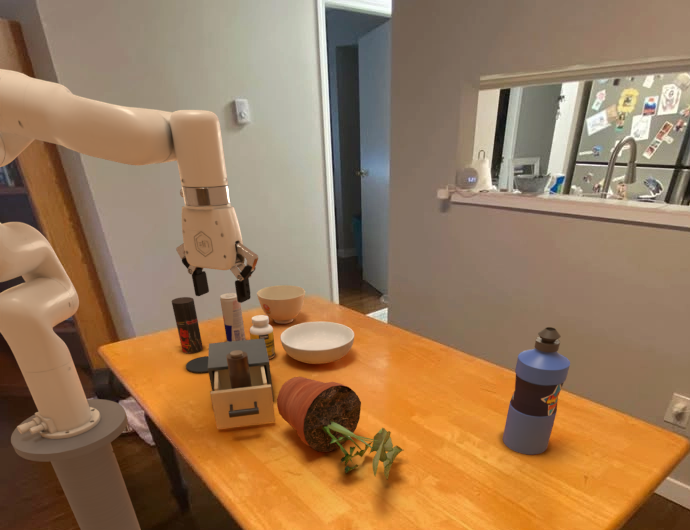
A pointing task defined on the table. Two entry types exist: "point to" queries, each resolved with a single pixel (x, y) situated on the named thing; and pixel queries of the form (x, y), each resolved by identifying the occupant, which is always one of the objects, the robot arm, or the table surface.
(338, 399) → the potted plant
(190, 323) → the deodorant
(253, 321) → the pill bottle
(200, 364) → the mat
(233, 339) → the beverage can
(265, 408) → the drawer
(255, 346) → the cabinet
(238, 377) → the pepper mill
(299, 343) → the serving bowl
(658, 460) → the table surface
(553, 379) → the water bottle
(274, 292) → the bowl
